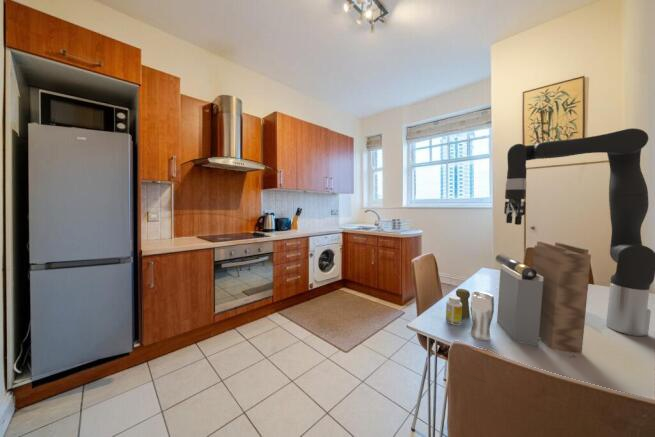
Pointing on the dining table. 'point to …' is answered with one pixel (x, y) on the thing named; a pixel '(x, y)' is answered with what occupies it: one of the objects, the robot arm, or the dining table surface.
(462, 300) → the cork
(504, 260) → the black gold-banded rod
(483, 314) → the beer glass
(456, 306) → the supplement bottle
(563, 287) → the tall stand
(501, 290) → the grey magazine holder
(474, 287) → the dining table surface
